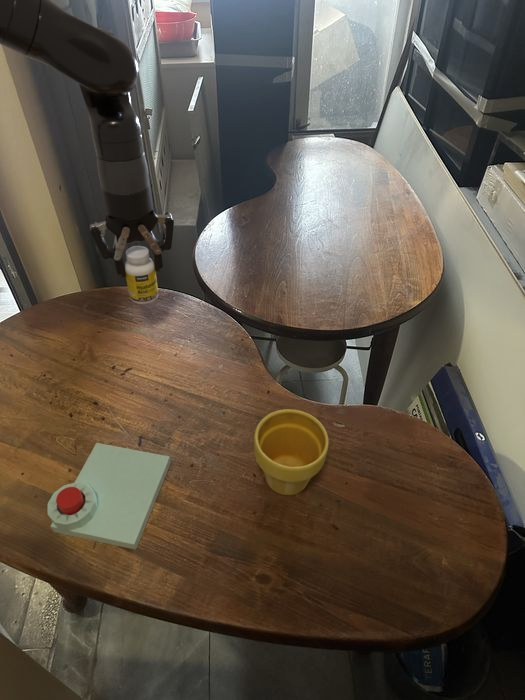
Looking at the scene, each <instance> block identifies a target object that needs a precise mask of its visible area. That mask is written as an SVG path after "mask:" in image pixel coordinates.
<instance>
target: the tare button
mask: <svg viewBox="0 0 525 700" xmlns="http://www.w3.org/2000/svg"><path fill="white" fill-rule="evenodd" d="M56 503H57V505H58V507H59V509H60V511H61V512H62V513H63V514H66V515H71V514H74V513H76V512H78V511H79V510H80V509H81V508H82V506H83V504H84V498H83V496H82V494H81V492H80V490H79V489H78V488H76V487H67V488H65V489H63V490H62V491H61V492H60V493H59V494H58V495H57V498H56Z"/></svg>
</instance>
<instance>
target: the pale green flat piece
mask: <svg viewBox="0 0 525 700" xmlns="http://www.w3.org/2000/svg"><path fill="white" fill-rule="evenodd" d="M171 464H172V461H171V457H170V455H169V456H168V455H164V454H158V453H152V452H147V451H143V450H137V449H132V448H126V447H120V446H115V445H110V444H105V443H99V442H96V443H95V445H94V446H93V448H92V450H91V452H90V453H89V455H88V457H87V459H86V460H85V463H84V465H83V466H82V468H81V470H80V472H79V474H78V475H77V477H76V479H75V481H74V482H72V483H68V484H64V485H62V486H61V487H60V488H59V489H57V490H56V491H54V492H53V493H52V495H51V497H50V499H49V500H48V502H47V516H48V517H49V520H50V521H51V524H50V528H51V529H52V532H53V533H56V534H61V535H66V536H70V537H75V538H80V539H84V540H88V541H93V542H97V543H102V544H107V545H112V546H116V547H121V548H125V549H129V550H135V551H136V550H137V549H138V546H139V544H140V541H141V538H142V536H143V534H144V531H145V529H146V527H147V524H148V521H149V519H150V516H151V514H152V511H153V509H154V506H155V504H156V501H157V498H158V496H159V494H160V491H161V488H162V487H163V484H164V482H165V478H166V477H167V473H168V472H169V469H170V466H171ZM67 487H76V488H78V489H79V490H80V492H81V494H82V496H83V498H84V504H83V506H82V508H81V509H80V510H79V511H78V512H76V513H74V514H71V515H66V514H63V513H62V512H61V511H60V509H59V507H58V505H57V503H56V498H57V495H58V494H59V493H60V492H61V491H62V490H63V489H65V488H67Z"/></svg>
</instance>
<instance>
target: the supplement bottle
mask: <svg viewBox="0 0 525 700" xmlns="http://www.w3.org/2000/svg"><path fill="white" fill-rule="evenodd" d="M125 259H126V261H125V262H124V263H123V264H124V269H125V274H126V277H125V279H126V286H127V291H128V297H129V299H130V300H131V301H132V302H133V303H134V304H137V305H138V304H139V305H147V304H151V303H153V302H154V301H156V300H157V299H158V297H159V287H158V286H159V285H158V279H157V272H156V270H155V264H154V261H153V258H151V256H150V250H149V248H147V247H146V246H143V245H134V246H131V247H129V248H127V249H126V251H125Z"/></svg>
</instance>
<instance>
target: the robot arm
mask: <svg viewBox="0 0 525 700" xmlns="http://www.w3.org/2000/svg"><path fill="white" fill-rule="evenodd" d="M0 45H1V46H2V47H5V48H8V49H10V50H12V51H13V52H16V53H18V54H20V55H22V56H25V57H26V58H29V59H31V60H34V61H37V62H39V63H42V64H44V65H46V66H48V67H50V68H52V69H54V71H55V70H56V72H59V74H62V75H64V76H65V77H67V78H69V79H70V80H72V81H74V82H75V83H77V84H78V85H79V89H80V93H81V95H82V98H83V102H84V105H85V108H86V111H87V114H88V118H89V123H90V131H91V135H92V140H93V146H94V150H95V154H96V155H95V156H96V157H95V158H96V166H97V174H98V181H99V183H100V189H101V193H102V194H101V195H102V198H103V203H104V209H105V213H106V216H105V219H104V221H101V222H96V221H91V222H90V223H89V230H90V234H91V236H92V238H93V240H94V243H95V244H96V246H97V248H98V250H99V253H100V255H101V257H102V259H104V260H108V259H112V260H113V261H114V266H115V270H116V274H117V275H118V276H121V278H126V274H125V269H124V264H125V263H124V260H123V259H124V258H123V253H124V251H125V250H126V249H125V248H126V245H127V244H130V243H133V242H144V241H146V243H147V245H148V246H149V247H150V248H151V253H152V254H151V255H152V260H153V262H154V264H155V270H156V273H160V272H161V270H162V269H163V267H164V264H163V256H162V253H163V252H164V251H170V250H171V249H172V246H173V235H174V225H175V221H174V218H173V216H172V214H171V212H169V211H167V212H165V213H164V214H158V213H157V212H156V211H155V209H154V203H153V195H152V188H151V182H150V181H151V180H150V173H149V167H148V162H147V159H146V155H145V149H144V142H143V141H144V140H143V133H142V128H141V123H140V120H139V117H138V115H137V113H136V111H135V109H134V108H133V107H134V106H133V105H132V101H131V95H130V93H131V92H132V90H134V88H135V86H136V85H137V82H138V80H139V66H138V62H137V58H136V56H135V55H134V53H133V51H132V49H131V48H130V46H129V45H127V44H126V43H125V41H123V40H122V39H120V38H119V37H117V36H116V35H115V34H113V33H112V32H111V31H109V30H107V29H105V28H102V27H98V26H97V27H96V26H94V25H92V24H89V23H87V22H86V21H84V20H82V19H80V18H78V17H76V16H74V15H73V14H70V13H69V12H66V10H64V9H63V8H61V6H59V5H58V4H56V3H55V2H53V1H52V0H0ZM158 223H159V225H160V227H161V228H162V234H161V236H162V237H161V240H158V239H157V238H156V237H155V235H154V233H153V230H154V229H155V227H156V225H157V224H158ZM106 230H109V232H111V233H112V234H113V235H114V242H113V246H112V247H109V246H108V244H107V242H106V240H105V238H104V237H105V236H106Z"/></svg>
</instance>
